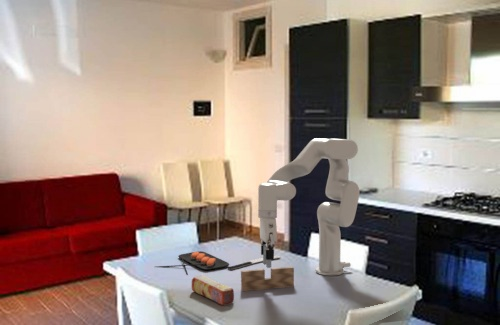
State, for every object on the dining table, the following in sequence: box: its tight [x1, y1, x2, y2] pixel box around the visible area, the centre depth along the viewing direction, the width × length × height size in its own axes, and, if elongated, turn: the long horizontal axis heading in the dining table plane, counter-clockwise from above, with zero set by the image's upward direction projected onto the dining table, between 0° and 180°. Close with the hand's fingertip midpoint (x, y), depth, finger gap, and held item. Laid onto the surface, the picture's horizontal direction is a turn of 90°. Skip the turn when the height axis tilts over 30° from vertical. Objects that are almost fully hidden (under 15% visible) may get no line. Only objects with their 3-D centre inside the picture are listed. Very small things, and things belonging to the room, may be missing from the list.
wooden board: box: [240, 266, 295, 292], centre depth 216 cm, size 22×2×8 cm, turn 104°
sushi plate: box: [155, 250, 230, 276], centre depth 249 cm, size 29×30×4 cm
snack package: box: [191, 274, 235, 307], centre depth 206 cm, size 21×7×7 cm, turn 39°
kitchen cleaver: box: [227, 255, 281, 271], centre depth 253 cm, size 31×2×10 cm
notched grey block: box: [262, 244, 272, 269], centre depth 215 cm, size 6×2×8 cm, turn 14°
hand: (267, 256), depth 215 cm, fingers closed on notched grey block, 6 cm apart
